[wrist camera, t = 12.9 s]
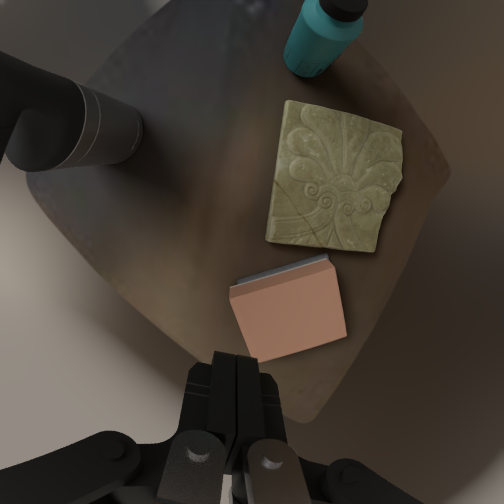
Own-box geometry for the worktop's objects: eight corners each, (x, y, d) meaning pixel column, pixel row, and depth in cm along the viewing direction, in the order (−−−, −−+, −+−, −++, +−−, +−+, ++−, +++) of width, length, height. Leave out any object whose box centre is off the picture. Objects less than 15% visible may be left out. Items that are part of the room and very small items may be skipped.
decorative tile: (263, 238, 43) (265, 244, 40) (282, 101, 37) (286, 96, 34) (376, 252, 45) (386, 259, 41) (398, 130, 39) (410, 129, 35)
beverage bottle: (309, 89, 36) (365, 39, 17) (270, 64, 35) (296, -6, 16) (332, 59, 35) (395, 1, 16) (294, 34, 34) (332, -41, 15)
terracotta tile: (254, 363, 44) (346, 336, 43) (229, 298, 40) (334, 267, 39) (252, 349, 47) (339, 323, 47) (229, 286, 44) (326, 257, 43)
